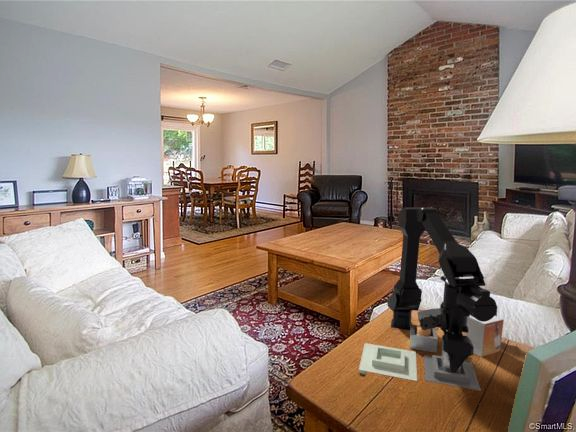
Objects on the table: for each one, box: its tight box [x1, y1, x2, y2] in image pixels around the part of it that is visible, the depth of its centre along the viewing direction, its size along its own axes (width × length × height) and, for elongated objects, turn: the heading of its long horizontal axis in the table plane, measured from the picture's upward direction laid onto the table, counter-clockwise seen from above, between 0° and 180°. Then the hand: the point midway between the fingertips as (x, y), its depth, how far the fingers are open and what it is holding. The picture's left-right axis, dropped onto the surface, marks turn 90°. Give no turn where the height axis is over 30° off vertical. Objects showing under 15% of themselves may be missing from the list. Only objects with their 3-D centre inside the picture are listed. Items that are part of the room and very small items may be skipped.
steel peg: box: [440, 347, 461, 374], centre depth 88 cm, size 4×4×8 cm
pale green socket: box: [358, 342, 418, 382], centre depth 94 cm, size 14×14×2 cm
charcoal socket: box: [423, 354, 482, 392], centre depth 89 cm, size 12×12×2 cm
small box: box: [465, 315, 505, 358], centre depth 99 cm, size 8×6×10 cm
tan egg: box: [417, 324, 431, 336], centre depth 102 cm, size 4×4×5 cm
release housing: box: [409, 323, 439, 354], centre depth 102 cm, size 7×7×5 cm
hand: (450, 361), depth 88 cm, fingers open, 9 cm apart
